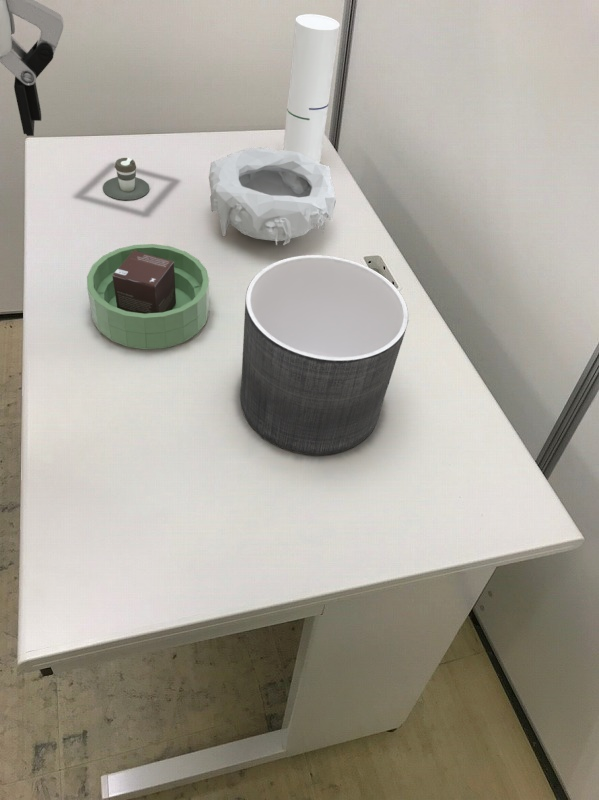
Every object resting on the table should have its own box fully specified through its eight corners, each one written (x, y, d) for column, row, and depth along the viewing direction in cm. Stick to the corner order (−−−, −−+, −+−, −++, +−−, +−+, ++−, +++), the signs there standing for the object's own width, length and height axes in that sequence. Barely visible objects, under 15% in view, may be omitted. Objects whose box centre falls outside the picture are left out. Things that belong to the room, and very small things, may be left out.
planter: (230, 446, 75) (234, 348, 63) (249, 344, 87) (255, 245, 75) (380, 465, 75) (412, 371, 64) (378, 360, 87) (405, 265, 76)
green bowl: (94, 357, 82) (88, 321, 78) (91, 282, 92) (85, 246, 88) (216, 347, 86) (216, 312, 81) (200, 275, 96) (199, 241, 91)
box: (177, 304, 90) (175, 261, 84) (158, 330, 86) (155, 287, 80) (137, 292, 90) (133, 249, 85) (116, 318, 86) (111, 274, 81)
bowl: (238, 182, 115) (240, 127, 108) (345, 213, 112) (355, 159, 104) (185, 240, 101) (183, 181, 94) (305, 278, 98) (314, 221, 91)
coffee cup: (78, 196, 106) (73, 168, 103) (113, 164, 114) (110, 137, 111) (144, 214, 105) (142, 187, 101) (175, 181, 113) (174, 154, 109)
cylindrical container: (323, 176, 120) (345, 30, 101) (286, 178, 118) (302, 29, 100) (313, 157, 124) (332, 14, 106) (277, 158, 122) (290, 13, 104)
